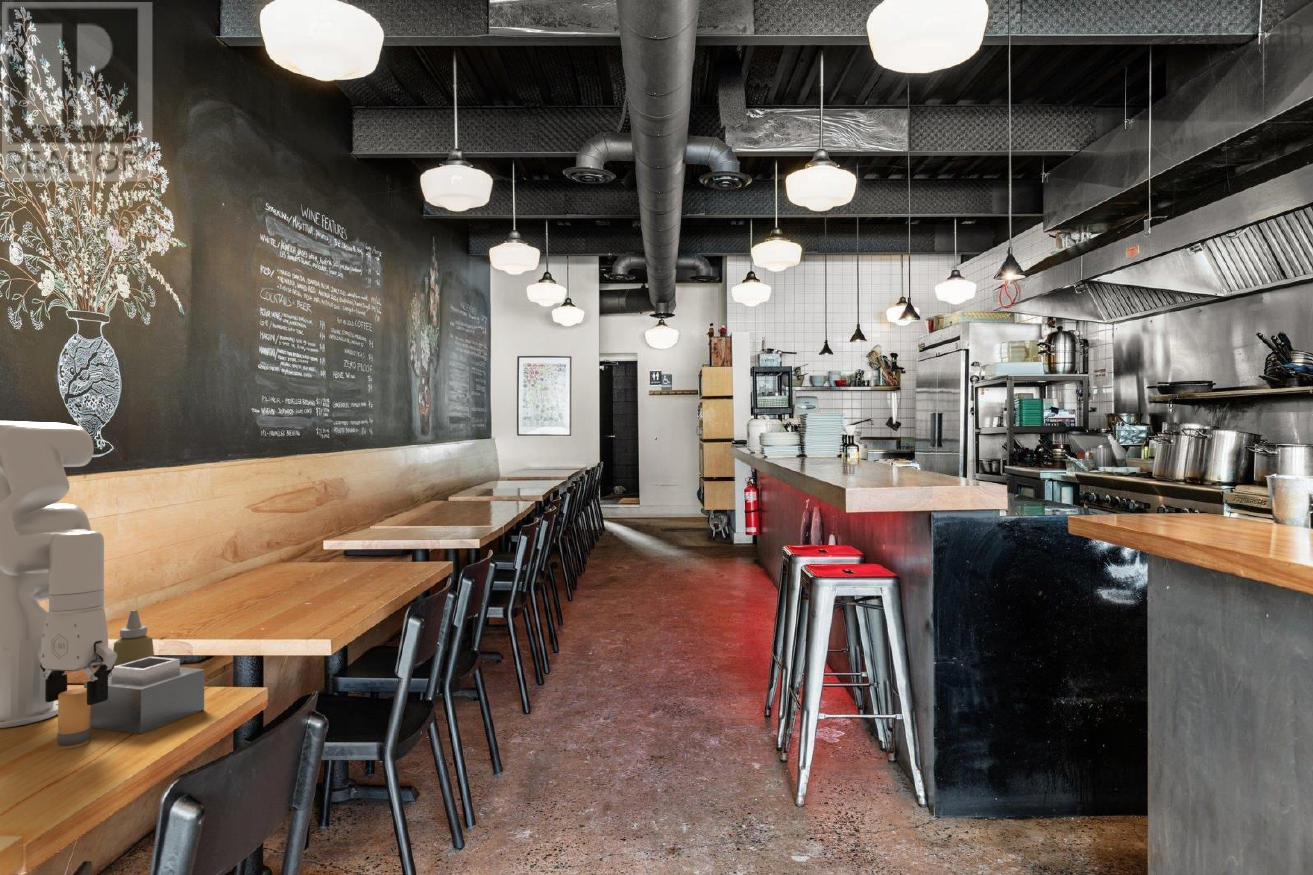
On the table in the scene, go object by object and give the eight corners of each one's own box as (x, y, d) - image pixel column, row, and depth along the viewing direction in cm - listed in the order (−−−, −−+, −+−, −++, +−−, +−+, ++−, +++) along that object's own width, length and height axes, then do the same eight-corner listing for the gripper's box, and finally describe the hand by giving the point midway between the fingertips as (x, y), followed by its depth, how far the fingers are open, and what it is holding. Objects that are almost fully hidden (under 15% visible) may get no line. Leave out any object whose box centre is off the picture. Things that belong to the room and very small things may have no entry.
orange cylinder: (50, 747, 124) (51, 695, 124) (77, 738, 128) (78, 687, 128) (69, 750, 122) (70, 697, 123) (96, 740, 127) (97, 689, 127)
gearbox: (83, 726, 133) (84, 669, 134) (150, 704, 146) (151, 651, 146) (140, 734, 129) (141, 675, 130) (204, 710, 142) (204, 656, 142)
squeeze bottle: (130, 704, 146) (132, 615, 146) (98, 702, 147) (99, 613, 148) (165, 691, 154) (166, 607, 154) (134, 689, 155) (135, 606, 156)
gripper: (17, 605, 125) (17, 705, 124) (91, 606, 120) (91, 711, 119) (64, 598, 132) (63, 692, 131) (135, 598, 127) (135, 697, 126)
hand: (76, 701), depth 125 cm, fingers open, 9 cm apart
